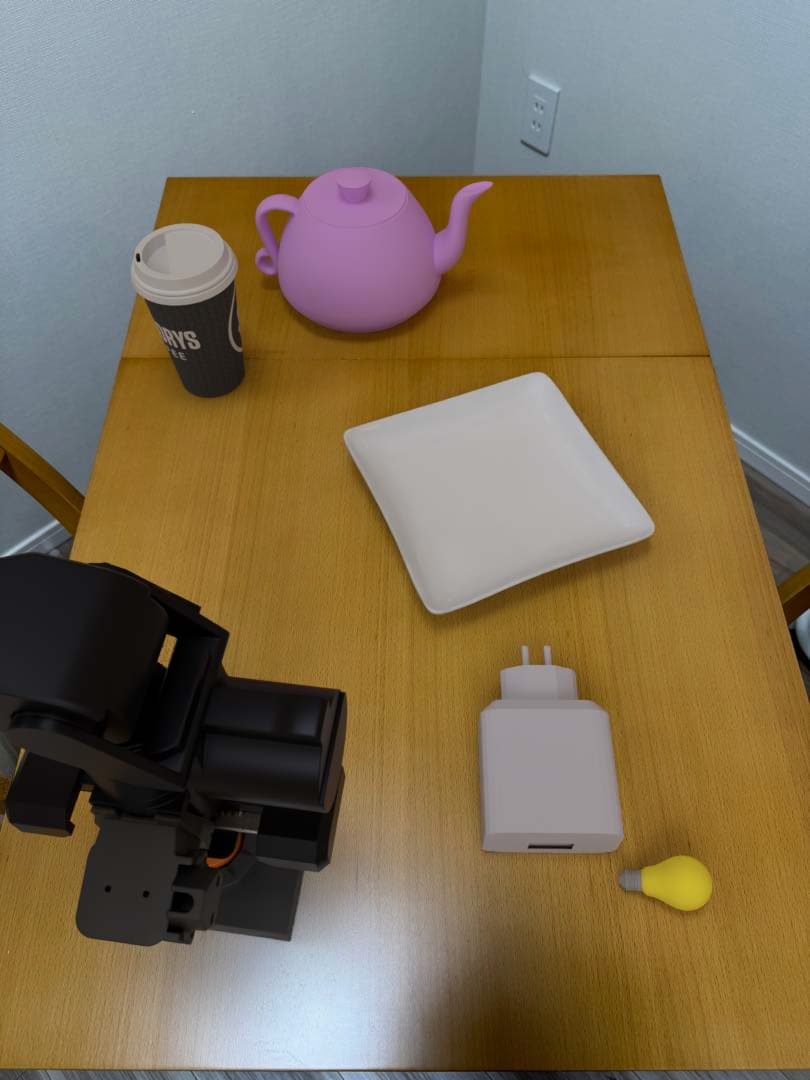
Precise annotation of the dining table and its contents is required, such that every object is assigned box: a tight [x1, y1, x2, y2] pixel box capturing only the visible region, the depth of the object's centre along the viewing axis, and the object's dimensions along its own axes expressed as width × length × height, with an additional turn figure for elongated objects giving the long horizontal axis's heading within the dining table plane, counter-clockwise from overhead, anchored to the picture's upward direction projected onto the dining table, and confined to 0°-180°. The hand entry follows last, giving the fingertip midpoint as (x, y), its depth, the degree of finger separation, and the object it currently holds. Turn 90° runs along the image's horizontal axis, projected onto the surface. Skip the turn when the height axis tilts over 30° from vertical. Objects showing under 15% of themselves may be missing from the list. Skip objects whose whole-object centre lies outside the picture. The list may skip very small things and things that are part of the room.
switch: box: [207, 832, 244, 869], centre depth 57 cm, size 4×4×2 cm
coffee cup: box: [130, 222, 246, 399], centre depth 81 cm, size 10×10×15 cm
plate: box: [342, 371, 656, 616], centre depth 76 cm, size 21×21×3 cm
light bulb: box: [618, 854, 714, 912], centre depth 57 cm, size 3×6×4 cm, turn 84°
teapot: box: [254, 166, 494, 334], centre depth 89 cm, size 25×18×14 cm
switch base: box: [207, 813, 305, 942], centre depth 59 cm, size 12×10×4 cm
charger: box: [477, 644, 625, 854], centre depth 62 cm, size 5×9×15 cm
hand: (208, 834), depth 57 cm, fingers closed, pressing on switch
